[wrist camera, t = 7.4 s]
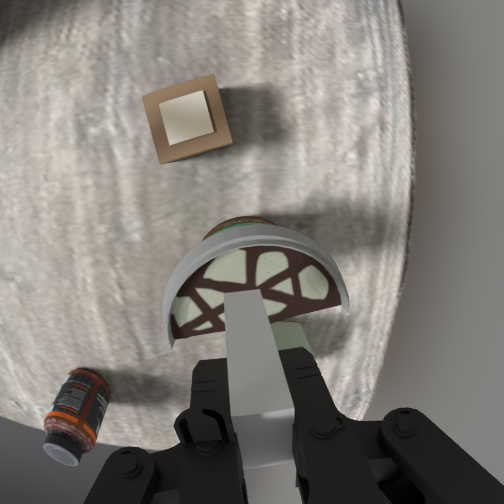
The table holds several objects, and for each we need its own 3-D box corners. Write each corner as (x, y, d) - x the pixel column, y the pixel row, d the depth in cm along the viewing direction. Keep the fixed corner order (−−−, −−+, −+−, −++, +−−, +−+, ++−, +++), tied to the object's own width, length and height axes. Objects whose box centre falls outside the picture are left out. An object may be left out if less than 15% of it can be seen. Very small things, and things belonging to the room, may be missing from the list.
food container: (304, 190, 25) (352, 213, 16) (313, 257, 27) (357, 310, 18) (162, 219, 25) (129, 259, 15) (180, 284, 27) (162, 350, 17)
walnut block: (157, 106, 22) (141, 95, 17) (215, 89, 22) (214, 73, 17) (172, 162, 24) (159, 164, 19) (230, 145, 24) (233, 142, 19)
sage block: (250, 317, 29) (257, 357, 23) (299, 322, 29) (316, 360, 24) (242, 358, 30) (247, 399, 24) (288, 361, 31) (300, 401, 25)
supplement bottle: (59, 369, 29) (23, 435, 18) (95, 363, 29) (61, 437, 18) (84, 403, 31) (59, 469, 20) (120, 399, 31) (99, 473, 20)
